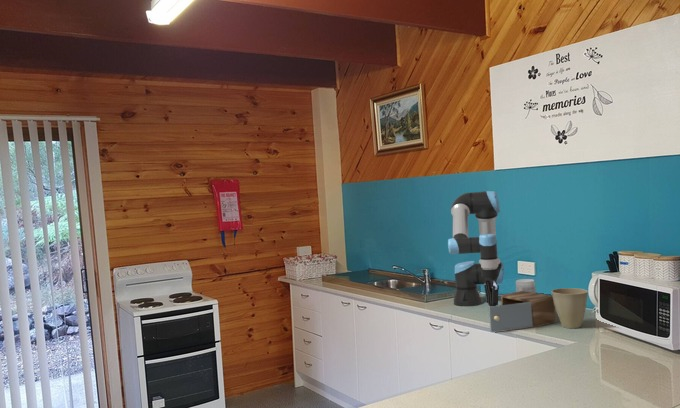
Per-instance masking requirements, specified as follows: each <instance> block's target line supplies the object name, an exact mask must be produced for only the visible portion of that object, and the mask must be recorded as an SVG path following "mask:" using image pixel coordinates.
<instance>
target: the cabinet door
mask: <svg viewBox="0 0 680 408" xmlns="http://www.w3.org/2000/svg"><path fill="white" fill-rule="evenodd" d="M488 317H489V329H490V331H489V332H491V333H494V332H503V331H509V330H518V329H519V330H520V329H525V328H526V329H527V328H534V327H533V324H532V311H531V302H526V303H517V304H509V305H496V306H491V307H489V306H488Z"/></svg>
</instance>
